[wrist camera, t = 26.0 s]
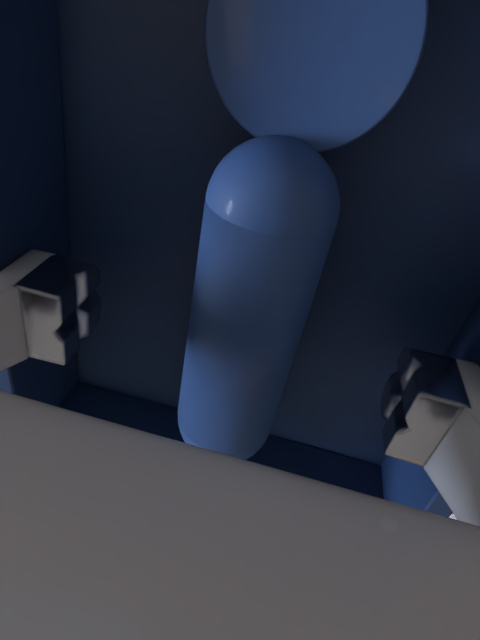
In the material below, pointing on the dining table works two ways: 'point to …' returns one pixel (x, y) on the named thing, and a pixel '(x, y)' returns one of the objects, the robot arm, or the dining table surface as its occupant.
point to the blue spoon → (279, 191)
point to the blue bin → (187, 213)
